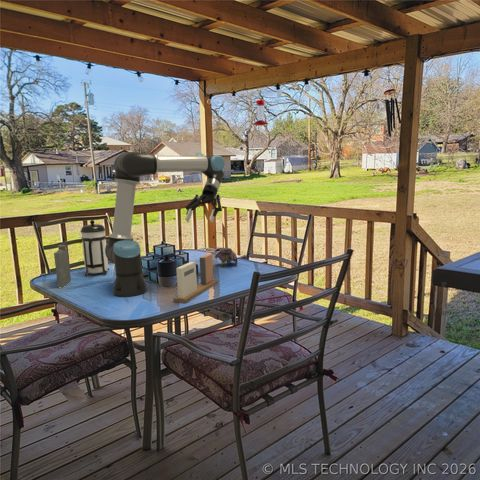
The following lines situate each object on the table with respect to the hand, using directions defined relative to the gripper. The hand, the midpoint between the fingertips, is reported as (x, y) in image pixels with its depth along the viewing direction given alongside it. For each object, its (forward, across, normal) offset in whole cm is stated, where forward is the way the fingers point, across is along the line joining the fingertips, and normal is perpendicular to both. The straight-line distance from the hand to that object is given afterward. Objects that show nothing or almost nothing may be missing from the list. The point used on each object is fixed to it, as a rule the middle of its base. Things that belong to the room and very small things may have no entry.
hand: (198, 220), depth 197 cm
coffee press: (+28, +60, -14) cm, 68 cm away
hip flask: (+42, +63, 0) cm, 75 cm away
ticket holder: (+36, -9, -6) cm, 38 cm away
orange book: (+28, -9, -12) cm, 31 cm away
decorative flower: (+1, -1, -42) cm, 42 cm away
